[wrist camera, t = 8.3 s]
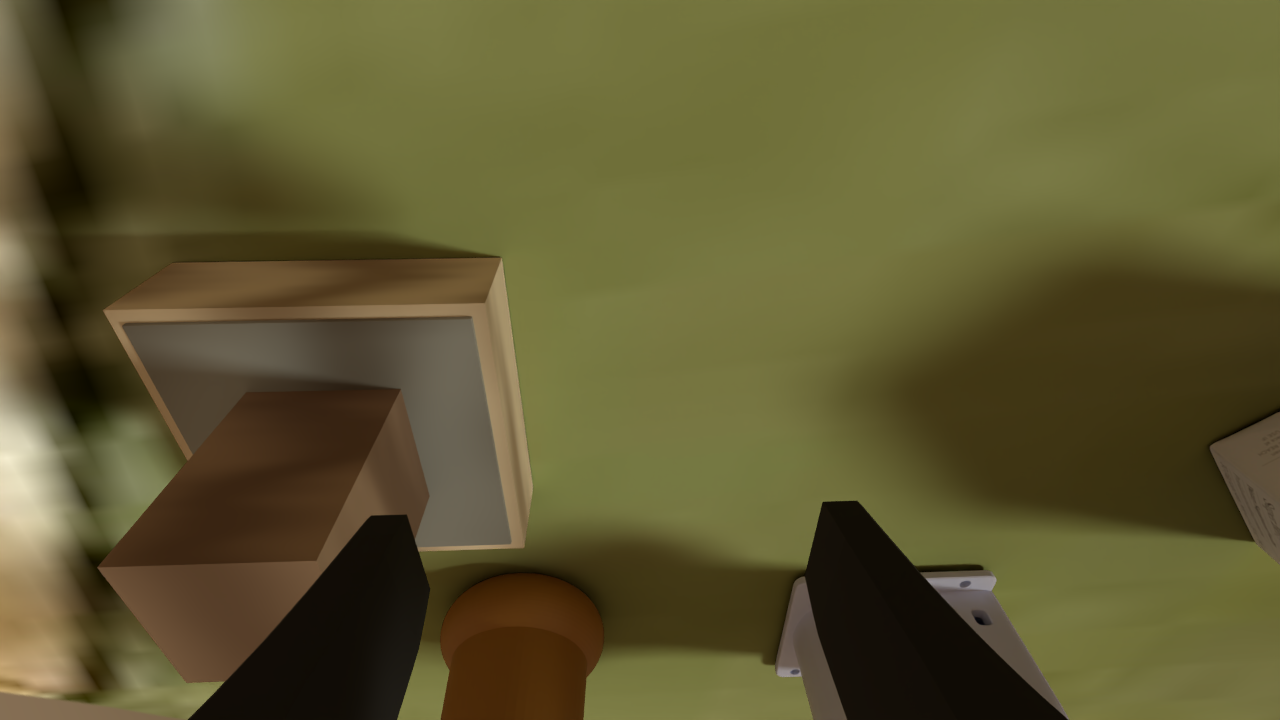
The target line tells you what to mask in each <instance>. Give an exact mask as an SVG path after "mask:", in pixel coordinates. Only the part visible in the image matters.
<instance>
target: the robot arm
mask: <svg viewBox="0 0 1280 720" xmlns="http://www.w3.org/2000/svg"><path fill="white" fill-rule="evenodd" d="M995 583H996V578H995V576H994V575H993V573H992V572H991V571H988V570H975V571H946V572H919V571H918V570H917V569H916V567H915V566H914V565H913V564H912V563H911V562H910V561H909V559H908V558H907V557H906V556H905V555H904V554H903V553H902V551H901V550H900V549H899V548H898V547H897V546H896V545H895V543H894V542H893V541H892V540H891V539H890V538H889V537H888V535H887V534H886V533H885V532H884V531H883V530H882V528H881V527H880V526H879V525H878V524H877V523H876V521H875V520H874V519H873V518H872V517H871V516H870V514H869V513H868V512H867V511H866V510H865V509H864V507H863V506H862V505H861V504H860V503H859V502H858V501H834V502H823V503H822V507H821V511H820V515H819V519H818V523H817V528H816V532H815V536H814V540H813V544H812V548H811V552H810V556H809V561H808V565H807V569H806V573H805V577H800V578H798V579H797V580H796V581H795V582H794V584H793V588H792V593H791V597H790V602H789V606H788V610H787V615H786V619H785V623H784V628H783V632H782V637H781V641H780V645H779V650H778V654H777V658H776V663H775V671H776V674H777V675H778V676H781V677H796V676H802V679H803V683H804V686H805V690H806V694H807V697H808V701H809V705H810V709H811V712H812V716H813V720H1069V718H1068V716H1067V715H1066V713H1065V711H1064V709H1063V707H1062V706H1061V704H1060V702H1059V701H1058V699H1057V697H1056V696H1055V694H1054V692H1053V691H1052V689H1051V687H1050V686H1049V684H1048V682H1047V681H1046V679H1045V677H1044V676H1043V674H1042V673H1041V671H1040V669H1039V668H1038V666H1037V664H1036V663H1035V661H1034V659H1033V658H1032V656H1031V654H1030V653H1029V651H1028V650H1027V648H1026V646H1025V645H1024V643H1023V641H1022V640H1021V638H1020V636H1019V635H1018V633H1017V631H1016V630H1015V628H1014V626H1013V625H1012V623H1011V622H1010V620H1009V618H1008V617H1007V615H1006V613H1005V612H1004V610H1003V608H1002V607H1001V605H1000V603H999V602H998V600H997V599H996V597H995V595H994V594H993V592H992V589H993V587H994V585H995ZM429 592H430V587H429V584H428V581H427V577H426V574H425V571H424V568H423V565H422V561H421V558H420V555H419V552H418V548H417V545H416V542H415V539H414V535H413V532H412V529H411V526H410V523H409V519H408V516H407V514H404V515H371V516H370V517H369V518H368V519H367V520H366V521H365V522H364V523H363V525H362V526H361V527H360V528H359V529H358V531H357V532H356V533H355V534H354V535H353V537H352V538H351V539H350V540H349V541H348V543H347V544H346V545H345V546H344V548H343V549H342V550H341V551H340V552H339V554H338V555H337V556H336V557H335V558H334V560H333V561H332V562H331V563H330V564H329V566H328V567H327V568H326V569H325V570H324V572H323V573H322V574H321V575H320V576H319V578H318V579H317V580H316V581H315V582H314V584H313V585H312V586H311V587H310V588H309V589H308V591H307V592H306V593H305V594H304V595H303V596H302V598H301V599H300V600H299V601H298V602H297V603H296V604H295V606H294V607H293V608H292V609H291V610H290V611H289V612H288V614H287V615H286V616H285V617H284V618H283V619H282V620H281V622H280V623H279V624H278V625H277V626H276V627H275V628H274V630H273V631H272V632H271V633H270V634H269V635H268V636H267V637H266V639H265V640H264V641H263V642H262V643H261V644H260V645H259V646H258V647H257V648H256V649H255V650H254V652H253V653H252V654H251V655H250V656H249V657H248V658H247V659H246V660H245V661H244V662H243V663H242V664H241V665H240V666H239V667H238V669H237V670H236V671H235V672H234V673H233V674H232V675H231V676H230V677H229V678H228V679H227V680H226V681H225V682H224V683H223V684H222V685H221V687H220V688H219V689H218V690H217V691H216V692H215V693H214V694H213V695H212V696H211V697H210V698H209V699H208V700H207V701H206V702H205V703H204V704H203V705H202V706H201V707H200V708H199V709H198V710H197V711H196V712H195V713H194V714H193V715H192V716H191V717H190V718H189V719H188V720H397V718H398V715H399V711H400V708H401V705H402V702H403V699H404V695H405V692H406V689H407V686H408V683H409V679H410V676H411V673H412V670H413V666H414V663H415V660H416V656H417V653H418V650H419V645H420V640H421V635H422V630H423V625H424V620H425V615H426V609H427V604H428V598H429Z"/></svg>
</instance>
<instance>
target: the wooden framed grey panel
mask: <svg viewBox="0 0 1280 720" xmlns="http://www.w3.org/2000/svg"><path fill="white" fill-rule="evenodd" d="M103 311H104V313H105V315H106V317H107V319H108V320H109V322H110V324H111V326H112V327H113V329H114V331H115V333H116V335H117V336H118V338H119V340H120V342H121V343H122V345H123V347H124V349H125V351H126V352H127V354H128V356H129V358H130V359H131V361H132V363H133V365H134V367H135V368H136V370H137V372H138V374H139V375H140V377H141V379H142V381H143V383H144V384H145V386H146V388H147V390H148V391H149V393H150V395H151V397H152V399H153V400H154V402H155V404H156V406H157V407H158V409H159V411H160V413H161V415H162V416H163V418H164V420H165V422H166V423H167V425H168V427H169V429H170V431H171V432H172V434H173V436H174V438H175V439H176V441H177V443H178V445H179V447H180V448H181V450H182V452H183V454H184V455H185V457H186V459H187V461H188V460H189V459H190V458H191V457H192V455H193V454H194V453H195V452H196V451H197V449H198V448H199V447H200V446H201V445H202V444H203V442H204V441H205V440H206V439H207V438H208V437H209V435H210V434H211V433H212V432H213V431H214V429H215V428H216V427H217V426H218V425H219V424H220V422H221V421H222V420H223V419H224V418H225V417H226V415H227V414H228V413H229V412H230V411H231V409H232V408H233V407H234V406H235V405H236V404H237V402H238V401H239V400H240V399H241V398H242V396H243V395H244V394H245V393H246V392H286V391H334V390H382V389H401V391H402V395H403V399H404V403H405V406H406V410H407V414H408V417H409V421H410V425H411V429H412V432H413V436H414V440H415V443H416V447H417V451H418V455H419V458H420V462H421V466H422V469H423V473H424V477H425V481H426V484H427V488H428V492H429V496H430V497H429V500H428V503H427V506H426V509H425V512H424V514H423V517H422V520H421V523H420V526H419V529H418V532H417V535H416V538H415V542H416V545H417V548H418V551H444V550H475V549H506V548H524V546H525V539H526V532H527V525H528V518H529V512H530V505H531V498H532V491H533V483H532V476H531V469H530V461H529V454H528V447H527V439H526V432H525V424H524V417H523V410H522V402H521V395H520V388H519V380H518V373H517V366H516V358H515V351H514V344H513V336H512V329H511V322H510V314H509V307H508V300H507V292H506V285H505V277H504V270H503V263H502V258H447V259H382V260H318V261H253V262H188V263H171V264H170V265H168V266H167V267H165V268H164V269H162V270H161V271H159V272H158V273H156V274H155V275H153V276H152V277H151V278H149V279H148V280H146V281H145V282H143V283H142V284H140V285H139V286H137V287H136V288H134V289H133V290H132V291H130V292H129V293H127V294H126V295H124V296H123V297H121V298H120V299H118V300H117V301H115V302H114V303H113V304H111V305H110V306H108V307H107V308H105V309H104V310H103Z"/></svg>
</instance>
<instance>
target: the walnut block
mask: <svg viewBox="0 0 1280 720" xmlns="http://www.w3.org/2000/svg"><path fill="white" fill-rule="evenodd" d="M429 497H430V496H429V492H428V488H427V484H426V481H425V477H424V473H423V469H422V466H421V462H420V458H419V455H418V451H417V447H416V443H415V440H414V436H413V432H412V429H411V425H410V421H409V417H408V414H407V410H406V406H405V403H404V399H403V395H402V391H401V389H382V390H334V391H286V392H246V393H245V394H244V395H243V396H242V398H241V399H240V400H239V401H238V402H237V404H236V405H235V406H234V407H233V408H232V409H231V411H230V412H229V413H228V414H227V415H226V417H225V418H224V419H223V420H222V421H221V422H220V424H219V425H218V426H217V427H216V428H215V429H214V431H213V432H212V433H211V434H210V435H209V437H208V438H207V439H206V440H205V441H204V442H203V444H202V445H201V446H200V447H199V448H198V449H197V451H196V452H195V453H194V454H193V455H192V457H191V458H190V459H189V460H188V461H187V462H186V464H185V465H184V466H183V467H182V468H181V470H180V471H179V472H178V473H177V474H176V475H175V477H174V478H173V479H172V480H171V481H170V482H169V484H168V485H167V486H166V487H165V488H164V490H163V491H162V492H161V493H160V494H159V495H158V497H157V498H156V499H155V500H154V501H153V502H152V504H151V505H150V506H149V507H148V508H147V510H146V511H145V512H144V513H143V514H142V515H141V517H140V518H139V519H138V520H137V521H136V523H135V524H134V525H133V526H132V527H131V528H130V530H129V531H128V532H127V533H126V534H125V535H124V537H123V538H122V539H121V540H120V541H119V543H118V544H117V545H116V546H115V547H114V548H113V550H112V551H111V552H110V553H109V554H108V556H107V557H106V558H105V559H104V560H103V561H102V563H101V564H100V565H99V566H98V567H97V568H98V569H99V570H100V572H101V573H102V574H103V576H104V577H105V578H106V580H107V581H108V582H109V583H110V585H111V586H112V587H113V589H114V590H115V591H116V592H117V594H118V595H119V596H120V598H121V599H122V600H123V601H124V603H125V604H126V605H127V607H128V608H129V609H130V610H131V612H132V613H133V614H134V616H135V617H136V618H137V620H138V621H139V622H140V623H141V625H142V626H143V627H144V629H145V630H146V631H147V632H148V634H149V635H150V636H151V638H152V639H153V640H154V641H155V643H156V644H157V645H158V647H159V648H160V649H161V650H162V652H163V653H164V654H165V656H166V657H167V658H168V660H169V661H170V662H171V663H172V665H173V666H174V667H175V669H176V670H177V671H178V672H179V674H180V675H181V676H182V678H183V679H184V680H185V681H186V683H193V682H219V681H226V680H227V679H228V678H229V677H230V676H231V675H232V674H233V673H234V672H235V671H236V670H237V669H238V667H239V666H240V665H241V664H242V663H243V662H244V661H245V660H246V659H247V658H248V657H249V656H250V655H251V654H252V653H253V652H254V650H255V649H256V648H257V647H258V646H259V645H260V644H261V643H262V642H263V641H264V640H265V639H266V637H267V636H268V635H269V634H270V633H271V632H272V631H273V630H274V628H275V627H276V626H277V625H278V624H279V623H280V622H281V620H282V619H283V618H284V617H285V616H286V615H287V614H288V612H289V611H290V610H291V609H292V608H293V607H294V606H295V604H296V603H297V602H298V601H299V600H300V599H301V598H302V596H303V595H304V594H305V593H306V592H307V591H308V589H309V588H310V587H311V586H312V585H313V584H314V582H315V581H316V580H317V579H318V578H319V576H320V575H321V574H322V573H323V572H324V570H325V569H326V568H327V567H328V566H329V564H330V563H331V562H332V561H333V560H334V558H335V557H336V556H337V555H338V554H339V552H340V551H341V550H342V549H343V548H344V546H345V545H346V544H347V543H348V541H349V540H350V539H351V538H352V537H353V535H354V534H355V533H356V532H357V531H358V529H359V528H360V527H361V526H362V525H363V523H364V522H365V521H366V520H367V519H368V518H369V517H370V516H371V515H404V514H407V516H408V519H409V523H410V526H411V529H412V532H413V535H414V539H415V538H416V535H417V532H418V529H419V526H420V523H421V520H422V517H423V514H424V512H425V509H426V506H427V503H428V500H429Z"/></svg>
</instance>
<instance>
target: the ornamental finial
mask: <svg viewBox="0 0 1280 720" xmlns="http://www.w3.org/2000/svg"><path fill="white" fill-rule="evenodd" d="M440 643H441V651H442V655H443V658H444V660H445V663H446V665H447V666H448V668H449V670H450V672H449V677H448V682H447V688H446V693H445V699H444V704H443V710H442V715H441V720H583V717H584V703H585V689H586V677H587V676H588V675H589V674H590V673H591V672H592V670H593V669H594V668H595V666H596V664H597V663H598V660H599V658H600V656H601V653H602V649H603V644H604V628H603V623H602V620H601V617H600V614H599V612H598V610H597V608H596V607H595V605H594V604H593V602H592V601H591V600H590V599H589V598H588V597H587V596H586V595H585V594H584V593H583V592H582V591H581V590H579V589H578V588H576V587H575V586H573V585H571V584H570V583H568V582H565V581H563V580H560V579H558V578H555V577H551V576H547V575H542V574H535V573H512V574H505V575H500V576H496V577H492V578H489V579H486V580H484V581H482V582H480V583H478V584H476V585H474V586H472V587H471V588H469V589H468V590H466V591H465V592H464V593H463V594H462V595H461V596H460V597H458V599H457V600H456V601H455V602H454V603H453V605H452V606H451V607H450V609H449V611H448V612H447V614H446V616H445V619H444V622H443V625H442V629H441V636H440Z"/></svg>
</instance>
